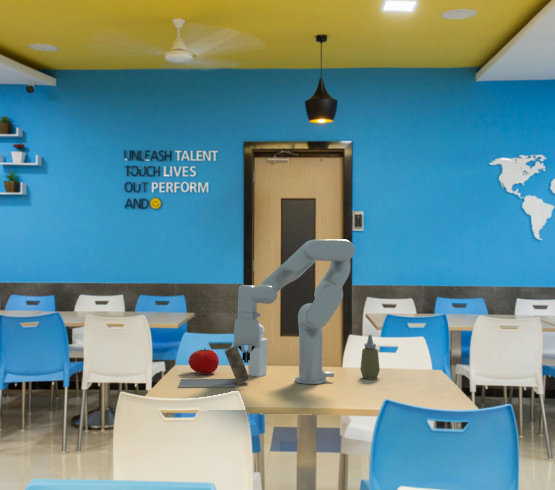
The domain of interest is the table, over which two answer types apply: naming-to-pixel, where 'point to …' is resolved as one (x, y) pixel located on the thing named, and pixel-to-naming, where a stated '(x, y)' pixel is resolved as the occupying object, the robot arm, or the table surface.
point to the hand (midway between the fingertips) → (246, 362)
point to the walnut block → (237, 365)
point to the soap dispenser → (258, 356)
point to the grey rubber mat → (206, 383)
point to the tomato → (204, 361)
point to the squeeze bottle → (370, 360)
